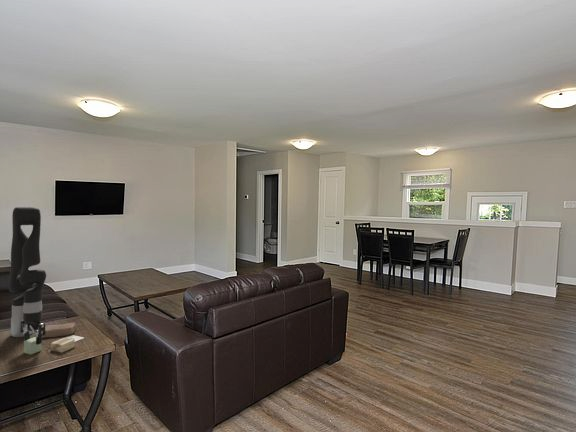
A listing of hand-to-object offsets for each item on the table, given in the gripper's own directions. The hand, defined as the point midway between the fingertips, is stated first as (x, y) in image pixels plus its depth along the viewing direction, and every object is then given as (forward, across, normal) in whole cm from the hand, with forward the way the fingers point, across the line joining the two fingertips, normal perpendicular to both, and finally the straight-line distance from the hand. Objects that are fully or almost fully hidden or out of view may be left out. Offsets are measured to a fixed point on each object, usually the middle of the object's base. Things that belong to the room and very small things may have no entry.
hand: (32, 342), depth 165 cm
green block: (+5, 0, 0) cm, 5 cm away
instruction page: (+4, +4, +17) cm, 18 cm away
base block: (+5, +10, +8) cm, 14 cm away
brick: (+5, -10, +20) cm, 23 cm away
